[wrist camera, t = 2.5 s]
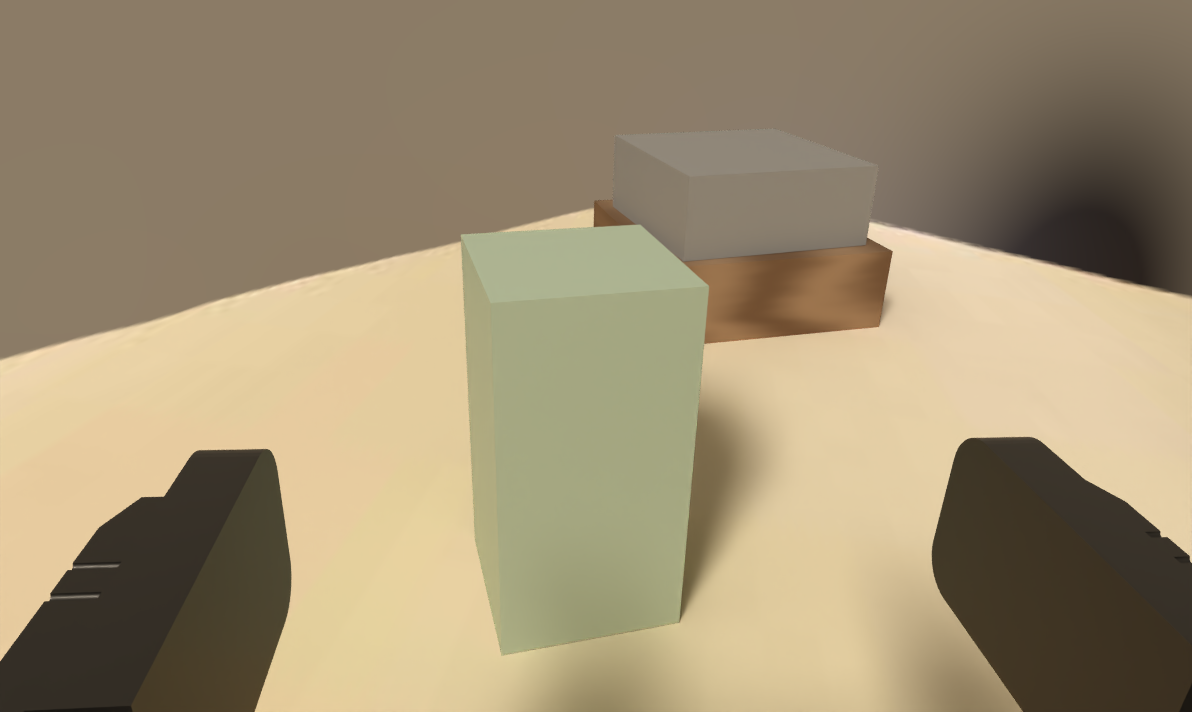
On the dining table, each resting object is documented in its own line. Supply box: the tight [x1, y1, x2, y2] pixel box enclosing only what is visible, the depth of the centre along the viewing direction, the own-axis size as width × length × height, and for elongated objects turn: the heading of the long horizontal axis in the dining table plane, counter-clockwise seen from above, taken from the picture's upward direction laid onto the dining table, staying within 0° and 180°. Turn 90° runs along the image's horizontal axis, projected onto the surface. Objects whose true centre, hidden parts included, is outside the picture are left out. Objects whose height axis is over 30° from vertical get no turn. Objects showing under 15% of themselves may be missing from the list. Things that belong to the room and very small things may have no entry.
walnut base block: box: [594, 200, 893, 344], centre depth 46 cm, size 12×12×4 cm
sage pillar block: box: [461, 225, 709, 655], centre depth 22 cm, size 5×5×10 cm
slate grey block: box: [613, 129, 879, 262], centre depth 44 cm, size 10×10×4 cm
